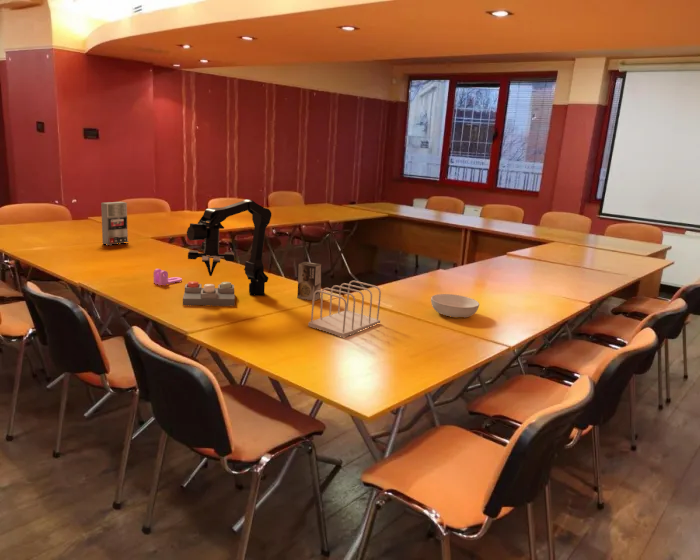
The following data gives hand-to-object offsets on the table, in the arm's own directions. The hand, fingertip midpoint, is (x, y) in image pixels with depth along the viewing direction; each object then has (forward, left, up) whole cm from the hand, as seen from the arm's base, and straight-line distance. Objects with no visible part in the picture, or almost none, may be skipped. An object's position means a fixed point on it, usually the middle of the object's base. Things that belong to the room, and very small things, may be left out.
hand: (210, 275), depth 237 cm
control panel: (0, -3, -12) cm, 12 cm away
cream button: (0, +1, -7) cm, 7 cm away
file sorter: (-53, +30, -12) cm, 62 cm away
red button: (+7, -8, -8) cm, 14 cm away
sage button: (-7, -8, -8) cm, 13 cm away
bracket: (+20, -32, -12) cm, 39 cm away
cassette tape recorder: (+58, -120, -12) cm, 134 cm away
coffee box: (-44, -8, -12) cm, 46 cm away
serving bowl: (-105, +16, -12) cm, 106 cm away
